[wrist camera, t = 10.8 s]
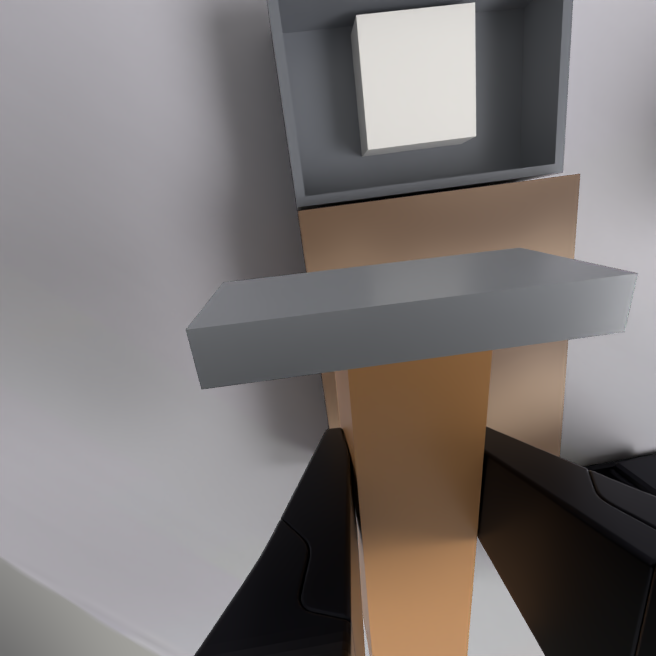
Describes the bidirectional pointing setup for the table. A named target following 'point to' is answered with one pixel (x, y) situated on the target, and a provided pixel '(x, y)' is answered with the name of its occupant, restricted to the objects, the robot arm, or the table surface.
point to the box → (431, 163)
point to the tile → (415, 78)
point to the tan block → (455, 239)
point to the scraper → (409, 400)
